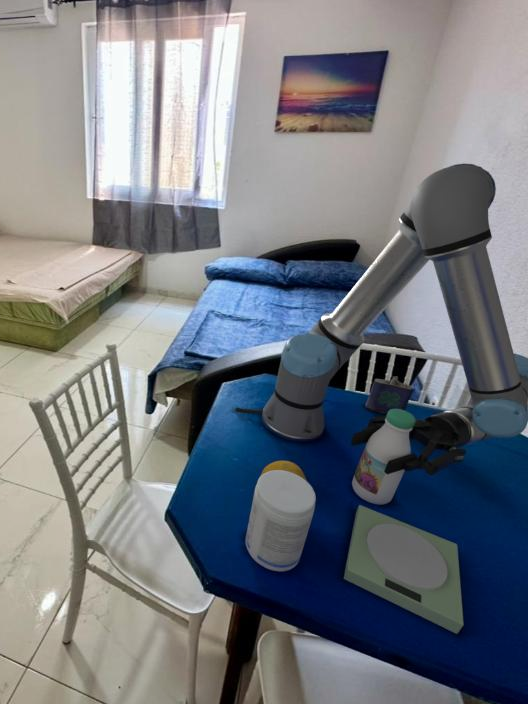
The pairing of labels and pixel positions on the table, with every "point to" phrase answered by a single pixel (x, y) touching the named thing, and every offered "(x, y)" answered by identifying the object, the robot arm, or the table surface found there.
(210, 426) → the table surface
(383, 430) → the milk bottle
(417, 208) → the robot arm
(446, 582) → the scale
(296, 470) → the fruit
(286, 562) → the supplement tub
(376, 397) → the flask
